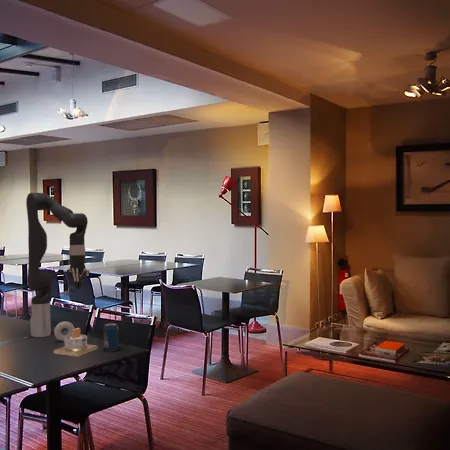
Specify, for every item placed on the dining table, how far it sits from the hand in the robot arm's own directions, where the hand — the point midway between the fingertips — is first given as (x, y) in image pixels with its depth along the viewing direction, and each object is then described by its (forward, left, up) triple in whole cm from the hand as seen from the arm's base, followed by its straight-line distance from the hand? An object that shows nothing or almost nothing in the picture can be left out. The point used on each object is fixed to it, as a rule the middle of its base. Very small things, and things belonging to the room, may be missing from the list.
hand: (78, 288), depth 252 cm
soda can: (+22, -4, -27) cm, 35 cm away
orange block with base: (+8, -12, -22) cm, 26 cm away
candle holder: (+8, -12, -27) cm, 31 cm away
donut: (-10, +1, -27) cm, 29 cm away
